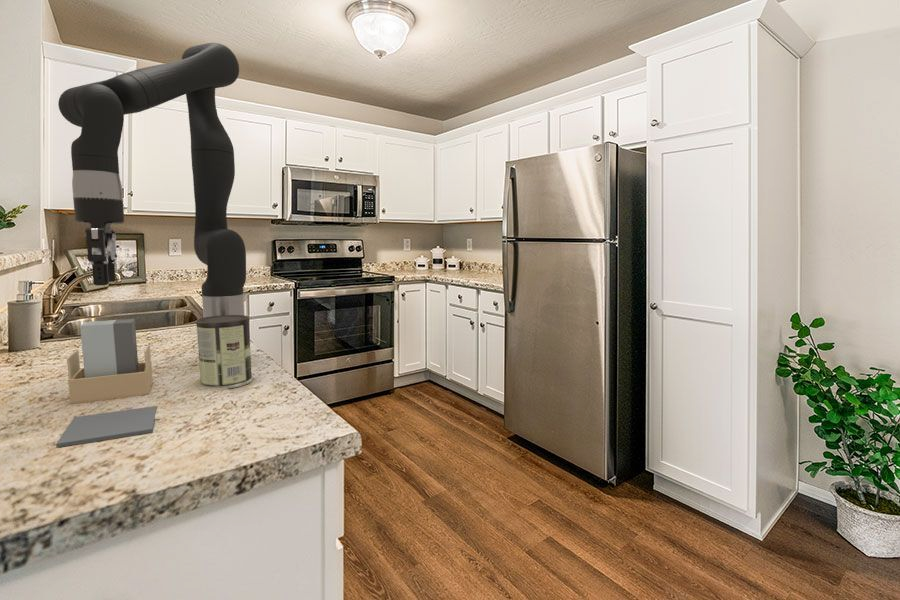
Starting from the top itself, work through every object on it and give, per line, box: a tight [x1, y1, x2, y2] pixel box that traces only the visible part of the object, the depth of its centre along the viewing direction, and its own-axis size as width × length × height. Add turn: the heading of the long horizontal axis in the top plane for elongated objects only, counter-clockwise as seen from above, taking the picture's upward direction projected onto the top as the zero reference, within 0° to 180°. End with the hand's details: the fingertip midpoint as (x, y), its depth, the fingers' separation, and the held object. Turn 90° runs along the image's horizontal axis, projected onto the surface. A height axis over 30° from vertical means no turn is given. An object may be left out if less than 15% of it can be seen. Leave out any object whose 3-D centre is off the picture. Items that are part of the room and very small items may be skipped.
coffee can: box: [195, 314, 253, 389], centre depth 101 cm, size 10×10×14 cm
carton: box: [66, 343, 154, 405], centre depth 92 cm, size 12×9×9 cm
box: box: [79, 318, 139, 378], centre depth 92 cm, size 8×5×14 cm, turn 118°
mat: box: [55, 405, 158, 448], centre depth 77 cm, size 12×12×1 cm
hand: (105, 283), depth 90 cm, fingers open, 8 cm apart
